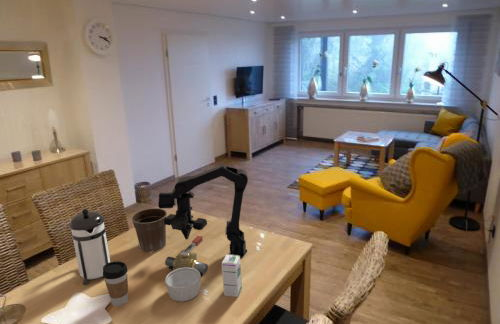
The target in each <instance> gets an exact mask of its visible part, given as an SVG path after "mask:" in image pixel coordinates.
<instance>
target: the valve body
mask: <svg viewBox="0 0 500 324" xmlns="http://www.w3.org/2000/svg"><path fill="white" fill-rule="evenodd" d="M197 258H198V257H197V253H195V252H192V251H190V252H189V256H188V257H182V255H181V251H180V252H179V253H178V254H177V255H176V256H175V257H173V256H167V257H166V259H165V261H164V265H165V266H166V267H167V270H170V271H174V270H176V269H179V268H193V269H196V270H198V271H199V273H200V276H201V277H203V275H204V274H206V273H207V271H208V269H209V266H208V263H205V262H200V261H199V260H198V259H197Z"/></svg>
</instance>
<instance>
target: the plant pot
mask: <svg viewBox="0 0 500 324" xmlns="http://www.w3.org/2000/svg"><path fill="white" fill-rule="evenodd" d="M167 216H168V212H167V211H166V209H164V208H159V207H158V208H157V207H156V208H152V207H151V208H146V209H145V208H144V209H142V210H138V211H136V212H135V213H134V214H132V216H131V217H130V219H131V222H132V223H133V227H134V229H135V233H136V237H137V241H138V245H139V249H140V250H141V251H142V252H145V253H151V252H157V251H160V250H161V249H163V248H165V247H166V244H167V233H166V231H167V228H166V227H167V225H164V219H165V218H166V217H167Z"/></svg>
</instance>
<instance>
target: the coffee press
mask: <svg viewBox="0 0 500 324" xmlns="http://www.w3.org/2000/svg"><path fill="white" fill-rule="evenodd" d="M68 226H69V228H70V230H71V238H72V241H73V246H74V251H75V256H76V261H77V267H78V271H79V275H80V277H81V278H83V279H82V280H83V281H82V285H83V286H87V285H88V284H89V282H90V280H94V279H95V280H96V279H99V278H102V277H103V266H104V265H106V264H107V263H109V262H111V260H110V252H109V245H108V241H107V240H108V239H107V234H106V233H107V232H106V231H107V230H106V225H105V217H104V215H102V214H101V213H100V212H98V211H94V210H93V211H91V210H90V211H89V210H88V209H87V208H84V209H82V211H81V213H78V214H76V215H75V216H73V217H72V218H71V219H70V222H69V223H68Z"/></svg>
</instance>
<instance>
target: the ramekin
mask: <svg viewBox="0 0 500 324" xmlns="http://www.w3.org/2000/svg"><path fill="white" fill-rule="evenodd" d="M201 277H202V276H200V273H199V271H198V270H196V269H193V268H179V269H176V270H175V269H173V270H171V271H170V272H169V273H168V274H167V275H166V277H165V279H164V285H165V287H166V290H167V293H168V296H169V297H170V299H172V300H174V301H176V302H181V303H182V302H187V301H190V300H193V299H194V298H195V297H197V296H198V294H199V293H200V290H201Z"/></svg>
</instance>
